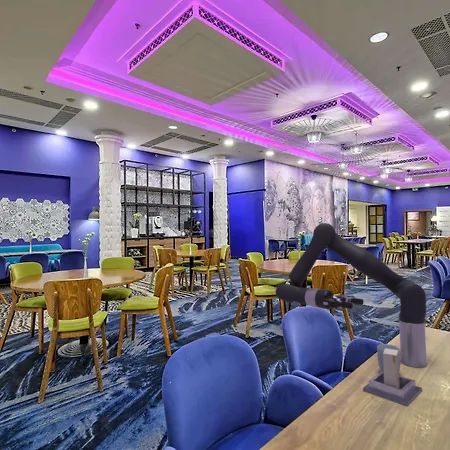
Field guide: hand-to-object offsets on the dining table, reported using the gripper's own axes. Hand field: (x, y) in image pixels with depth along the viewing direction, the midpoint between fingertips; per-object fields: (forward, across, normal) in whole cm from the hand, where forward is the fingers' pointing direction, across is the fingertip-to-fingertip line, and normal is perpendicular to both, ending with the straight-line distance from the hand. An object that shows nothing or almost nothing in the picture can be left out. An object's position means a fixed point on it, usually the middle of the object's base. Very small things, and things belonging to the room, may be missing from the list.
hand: (357, 303), depth 119 cm
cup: (+5, +13, +28) cm, 31 cm away
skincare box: (+11, 0, +27) cm, 29 cm away
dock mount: (+11, 0, +28) cm, 30 cm away
